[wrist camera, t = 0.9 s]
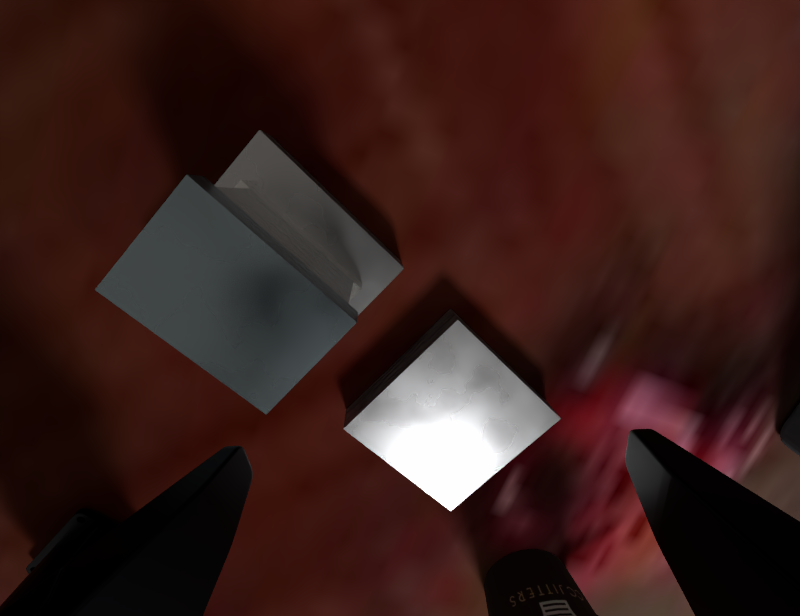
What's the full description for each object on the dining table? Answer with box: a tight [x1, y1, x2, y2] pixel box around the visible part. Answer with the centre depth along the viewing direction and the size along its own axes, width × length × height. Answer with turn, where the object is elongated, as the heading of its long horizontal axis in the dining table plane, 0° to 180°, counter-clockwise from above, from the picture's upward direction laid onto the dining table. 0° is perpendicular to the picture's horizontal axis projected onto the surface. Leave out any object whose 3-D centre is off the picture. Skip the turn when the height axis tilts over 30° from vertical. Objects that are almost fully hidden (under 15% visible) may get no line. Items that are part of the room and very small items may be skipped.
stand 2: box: [344, 309, 561, 511], centre depth 23 cm, size 9×9×2 cm
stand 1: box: [214, 130, 404, 315], centre depth 19 cm, size 9×9×2 cm
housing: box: [95, 175, 362, 414], centre depth 16 cm, size 5×7×6 cm
